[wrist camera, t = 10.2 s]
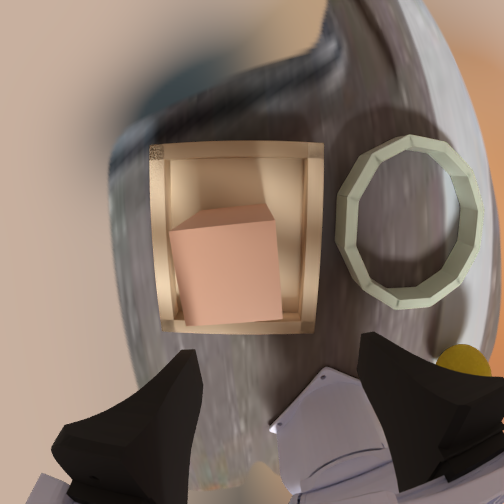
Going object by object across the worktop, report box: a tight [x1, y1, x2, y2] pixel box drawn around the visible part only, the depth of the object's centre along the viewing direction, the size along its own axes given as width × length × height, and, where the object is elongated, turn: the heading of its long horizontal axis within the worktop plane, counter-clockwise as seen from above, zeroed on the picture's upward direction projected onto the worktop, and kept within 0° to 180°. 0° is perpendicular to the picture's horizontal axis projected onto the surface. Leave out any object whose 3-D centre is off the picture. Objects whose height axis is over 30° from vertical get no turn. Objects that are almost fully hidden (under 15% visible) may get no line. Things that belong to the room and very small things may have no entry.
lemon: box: [436, 344, 492, 377], centre depth 20 cm, size 6×6×8 cm
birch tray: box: [150, 141, 324, 334], centre depth 20 cm, size 13×11×2 cm
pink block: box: [169, 203, 283, 326], centre depth 16 cm, size 4×4×8 cm
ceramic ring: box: [335, 134, 484, 310], centre depth 20 cm, size 13×13×2 cm
